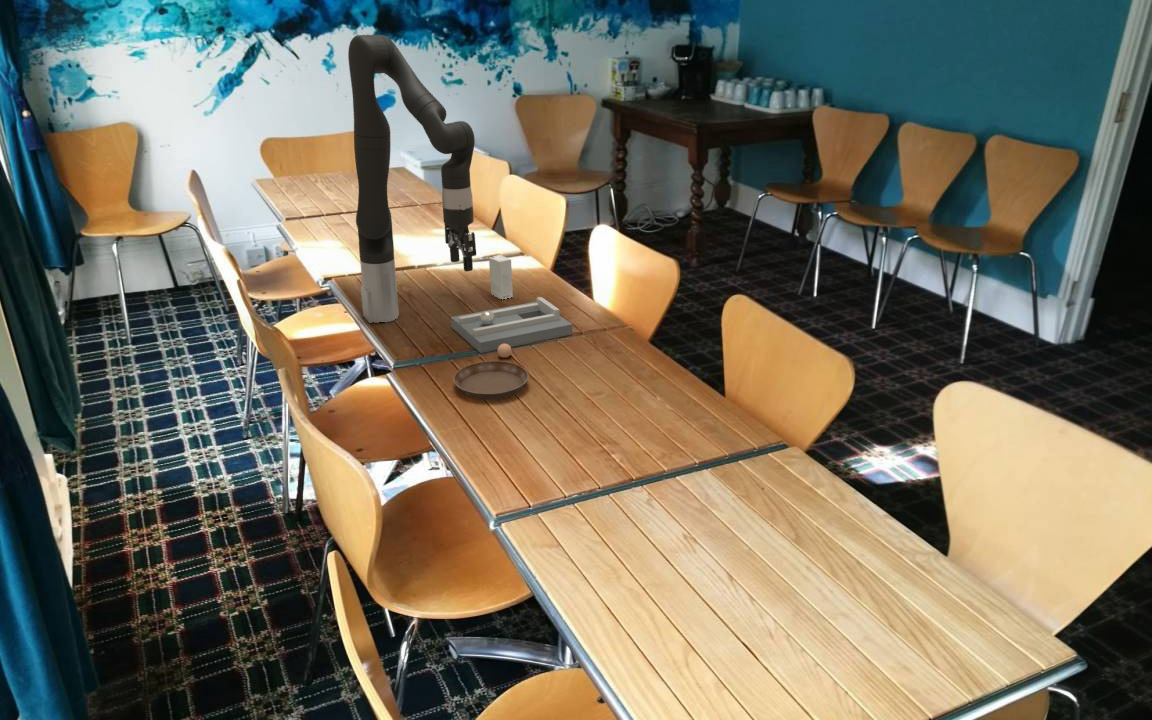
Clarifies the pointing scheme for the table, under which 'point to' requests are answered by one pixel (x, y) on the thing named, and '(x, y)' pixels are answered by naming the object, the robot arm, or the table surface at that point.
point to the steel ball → (487, 318)
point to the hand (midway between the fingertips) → (461, 266)
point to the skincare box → (501, 277)
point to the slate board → (513, 326)
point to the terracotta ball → (504, 350)
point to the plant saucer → (491, 379)
